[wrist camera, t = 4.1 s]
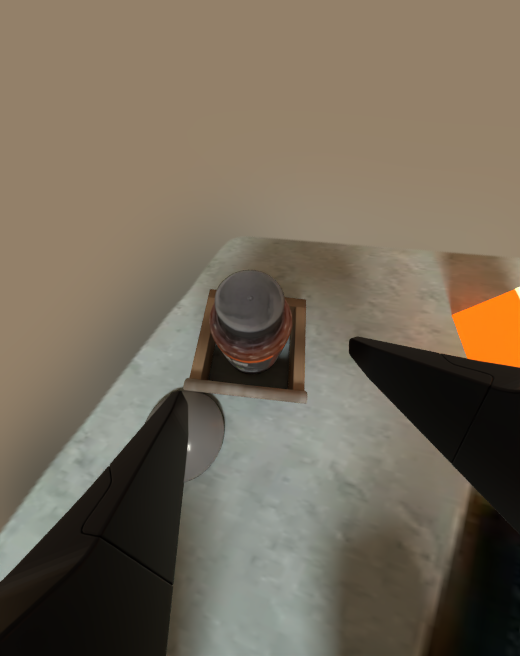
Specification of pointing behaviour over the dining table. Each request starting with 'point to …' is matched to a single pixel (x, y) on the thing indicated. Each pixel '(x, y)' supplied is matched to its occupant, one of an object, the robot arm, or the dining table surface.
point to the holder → (292, 394)
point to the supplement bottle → (250, 320)
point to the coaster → (201, 432)
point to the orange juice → (492, 329)
